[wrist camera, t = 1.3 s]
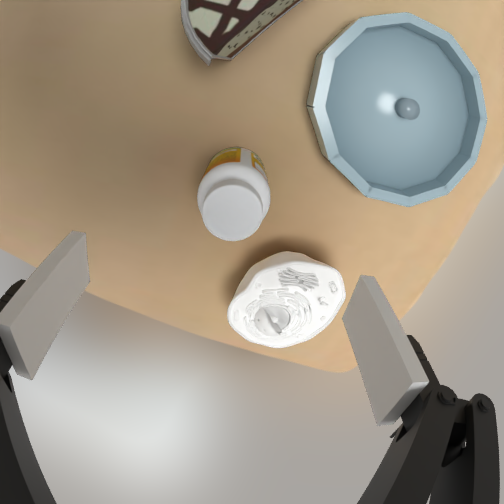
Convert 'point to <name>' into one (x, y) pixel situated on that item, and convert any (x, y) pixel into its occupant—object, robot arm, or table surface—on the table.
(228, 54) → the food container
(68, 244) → the robot arm
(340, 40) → the ring tray
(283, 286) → the cell model
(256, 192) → the supplement bottle
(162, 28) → the table surface
